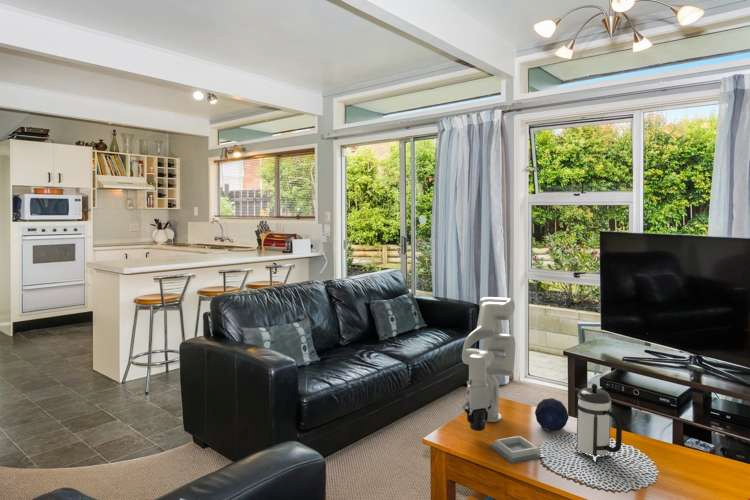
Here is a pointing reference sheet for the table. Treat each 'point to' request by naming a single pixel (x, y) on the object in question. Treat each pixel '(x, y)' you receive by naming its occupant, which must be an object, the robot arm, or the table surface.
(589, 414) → the coffee press
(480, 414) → the supplement bottle
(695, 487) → the table surface
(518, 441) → the rimmed tray
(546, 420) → the decorative orb
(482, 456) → the table surface
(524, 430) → the table surface
